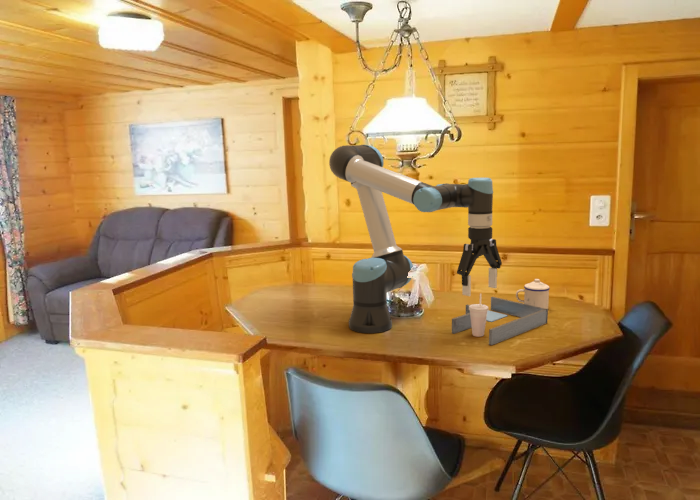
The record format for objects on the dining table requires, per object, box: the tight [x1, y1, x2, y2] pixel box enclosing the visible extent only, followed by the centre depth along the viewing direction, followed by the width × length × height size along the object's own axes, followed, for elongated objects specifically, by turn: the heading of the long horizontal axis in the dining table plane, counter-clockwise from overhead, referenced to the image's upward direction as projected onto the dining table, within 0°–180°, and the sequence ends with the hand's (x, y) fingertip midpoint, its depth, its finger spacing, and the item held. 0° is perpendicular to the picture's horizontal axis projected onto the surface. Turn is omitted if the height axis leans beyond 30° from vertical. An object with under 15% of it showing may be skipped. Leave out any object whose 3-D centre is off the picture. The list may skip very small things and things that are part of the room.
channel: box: [451, 296, 549, 346], centre depth 190 cm, size 32×23×5 cm
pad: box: [486, 310, 509, 323], centre depth 201 cm, size 10×10×1 cm
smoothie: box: [469, 293, 490, 338], centre depth 180 cm, size 6×6×14 cm
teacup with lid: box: [515, 278, 551, 310], centre depth 207 cm, size 12×9×12 cm
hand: (479, 291), depth 178 cm, fingers open, 13 cm apart
